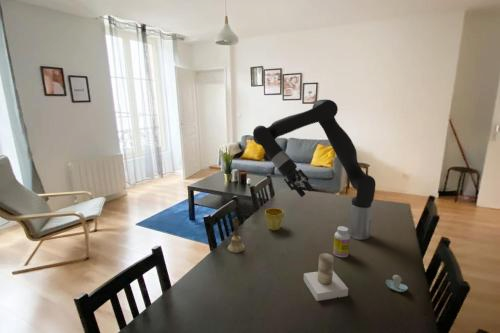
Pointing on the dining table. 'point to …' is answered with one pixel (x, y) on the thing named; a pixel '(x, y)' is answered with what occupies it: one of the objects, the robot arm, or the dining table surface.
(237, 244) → the hand bell
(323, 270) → the birch post
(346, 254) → the supplement bottle
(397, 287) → the pacifier
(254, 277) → the dining table surface
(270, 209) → the plant pot
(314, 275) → the plinth
